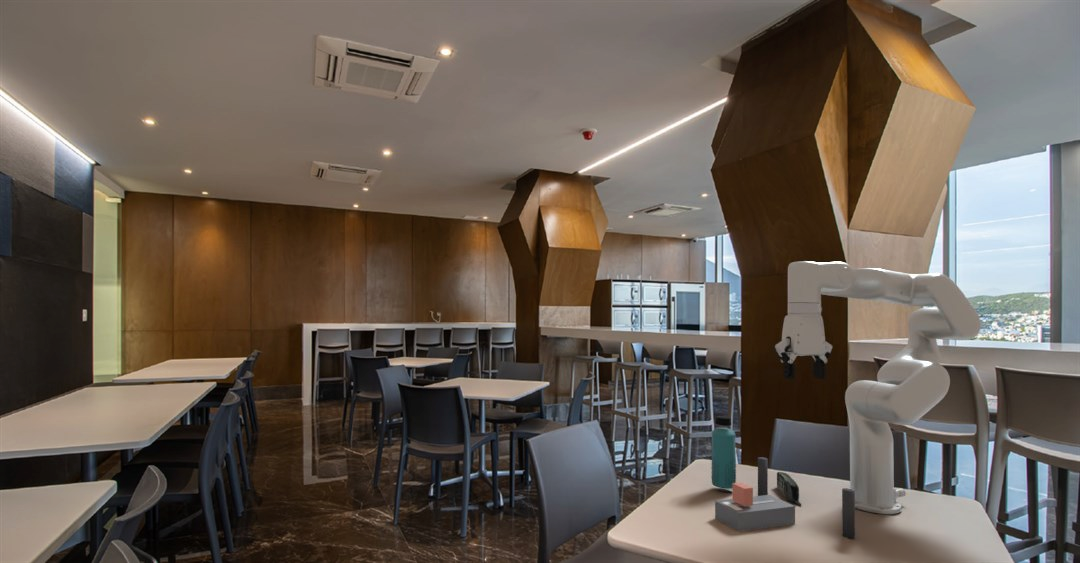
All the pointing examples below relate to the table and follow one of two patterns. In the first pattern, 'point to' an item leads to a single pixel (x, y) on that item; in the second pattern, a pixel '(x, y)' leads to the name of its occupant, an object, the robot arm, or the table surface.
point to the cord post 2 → (848, 513)
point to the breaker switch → (742, 494)
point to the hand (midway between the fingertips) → (804, 378)
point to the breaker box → (755, 513)
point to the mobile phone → (788, 487)
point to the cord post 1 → (762, 476)
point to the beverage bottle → (723, 454)
